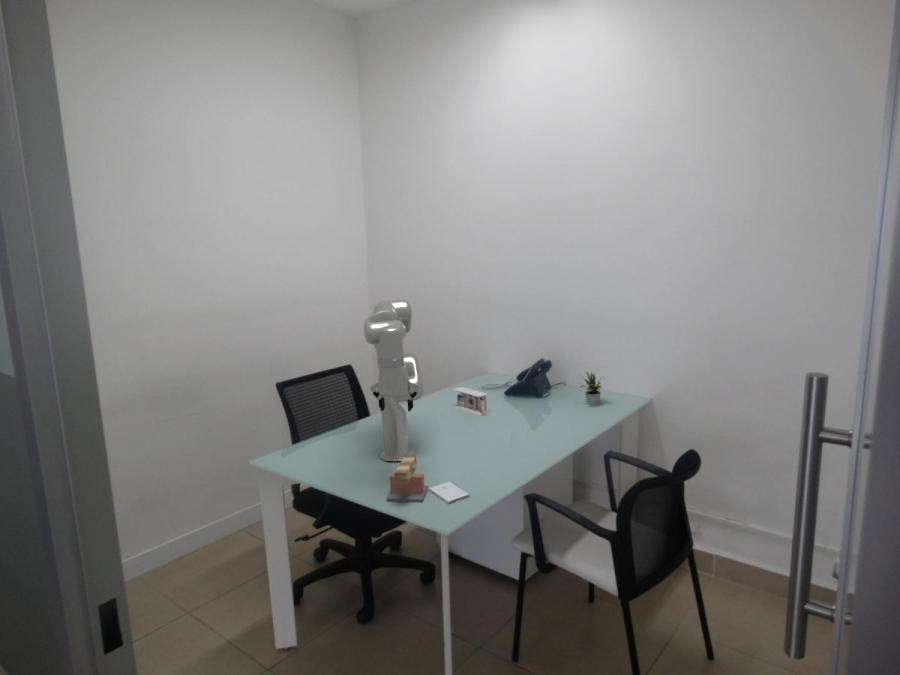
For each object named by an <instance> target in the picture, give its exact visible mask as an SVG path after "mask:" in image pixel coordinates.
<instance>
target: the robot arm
mask: <svg viewBox="0 0 900 675" xmlns="http://www.w3.org/2000/svg"><path fill="white" fill-rule="evenodd" d="M412 313H413V312H412V307H411V304H410V303H409V301H407V300H405V299H395V300H384V301H383V300H382V301H379V302H378V303H376V305H375V306H374V308H373V313H372V315H369V316H367V317H366V319H365V320H364V324H363V333H364V334H363V335H364V339H365V341H366V342H367V344H370V345H373V347H374V349H375V351H376V358H377V360H376V361H377V365H378V366H377V367H378V368H377V370H378V382H376V383H374V384H372V385H370V386H369V389H370V391H371V393H372V395H373V396H374V397H375V398H376V399H377V401H378V407H379V408H380V415H381V425H382V426H381V428H382V436H383V437H382V438H383V451H381V454H380V458H382V459H383V460H382V459H381V460H382V461H384V460H386V461H385V462H387V461H393V462H392V463H397V462H396V461H402V459H403V457H404V456H405V455H414V451H413V449H411V448H410V447H409V434H408V423H407V422H408V420H407V412H411V411H412V409H413V408H414V401H418V400H420V399H421V398H422V397H423V395H424V387H423V382H422V381H423V380H422V375H421V368H420V362H419V360H418V357H417V356H416V354H413V353H404V343H403V342H404V339H405V337H406V336H407V333H409V332H410V331H411V327H412V316H413V315H412ZM402 402H403V403H404V402H406V403H407V412H406V410H405V408H404V406H402V405H401V404H400V403H402ZM394 461H395V462H394Z"/></svg>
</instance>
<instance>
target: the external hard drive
mask: <svg viewBox="0 0 900 675" xmlns="http://www.w3.org/2000/svg"><path fill="white" fill-rule="evenodd" d="M428 491H429V492H430V491H431V493H432V495H434V496H436V497H437V496H438V497H437V498H439V499H440V500H442V501H443V502H444V503H446V504H447V505H452V504H454V503H456V501H457V502H459V501H458V500H460V501H462V500H461V499H463V500H465V499H464V498H466V499H468V497H469V498H470V496H471V495H470V494H469V493H468V492H466V491H464V490H463V489H461V488H459V487H458V486H457V485H455V484H453V483H452V482H450V481H446V482H443V483H441V484H437V485H435V486H431V487H430V488H429V489H428Z"/></svg>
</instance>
